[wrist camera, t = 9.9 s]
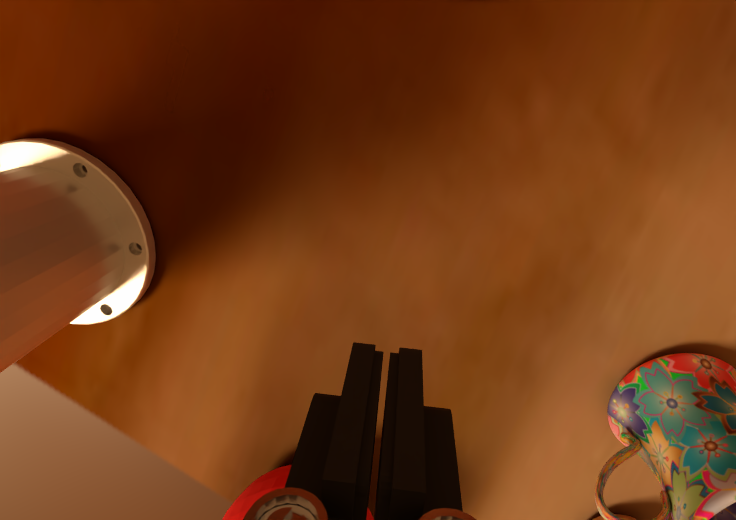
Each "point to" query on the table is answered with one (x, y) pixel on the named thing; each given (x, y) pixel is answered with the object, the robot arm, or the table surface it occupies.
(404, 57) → the table surface
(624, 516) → the plastic bottle
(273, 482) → the tomato
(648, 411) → the mug
